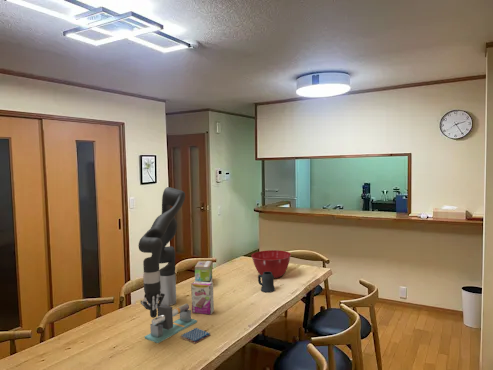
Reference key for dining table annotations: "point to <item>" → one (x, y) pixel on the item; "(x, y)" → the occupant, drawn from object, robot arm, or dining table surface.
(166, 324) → the tall grey rectangular prism
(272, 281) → the mug
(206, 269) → the tea box
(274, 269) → the mixing bowl
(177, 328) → the base board
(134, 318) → the dining table surface
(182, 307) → the pipe
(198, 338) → the woven mat
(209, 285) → the candy bar box
